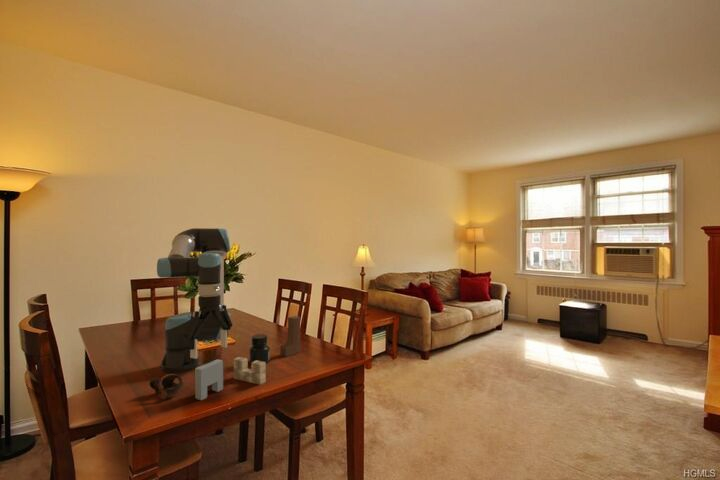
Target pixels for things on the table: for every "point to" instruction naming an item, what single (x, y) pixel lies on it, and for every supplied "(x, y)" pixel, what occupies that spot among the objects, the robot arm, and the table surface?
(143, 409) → the table surface
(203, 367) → the slotted plate
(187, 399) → the table surface
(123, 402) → the table surface
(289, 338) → the wooden block
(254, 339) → the ink bottle
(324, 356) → the table surface
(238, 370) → the slotted board
